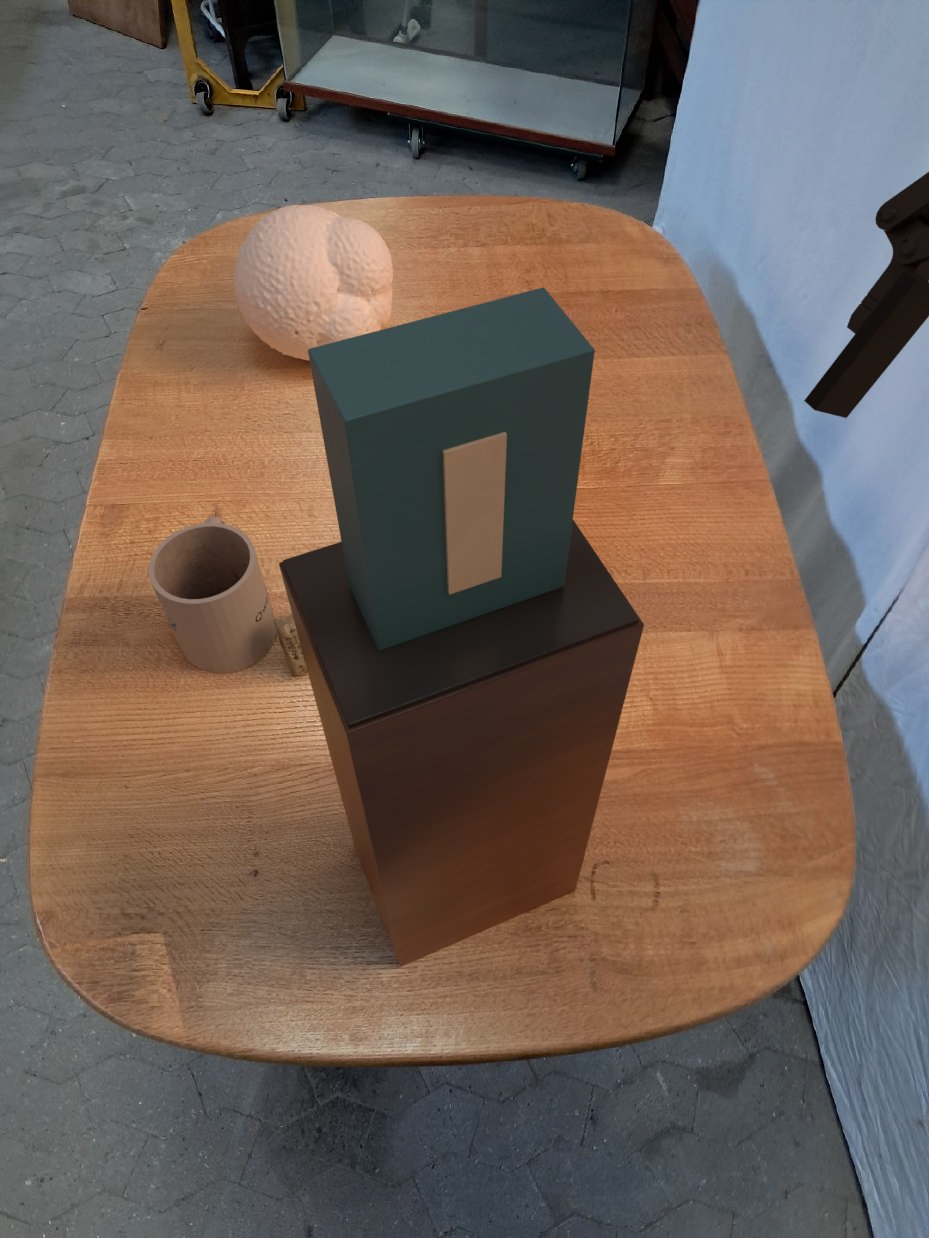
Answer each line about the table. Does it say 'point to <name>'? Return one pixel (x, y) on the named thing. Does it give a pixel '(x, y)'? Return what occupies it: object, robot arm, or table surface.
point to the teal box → (455, 459)
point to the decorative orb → (312, 279)
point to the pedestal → (468, 743)
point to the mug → (214, 596)
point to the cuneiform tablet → (290, 644)
